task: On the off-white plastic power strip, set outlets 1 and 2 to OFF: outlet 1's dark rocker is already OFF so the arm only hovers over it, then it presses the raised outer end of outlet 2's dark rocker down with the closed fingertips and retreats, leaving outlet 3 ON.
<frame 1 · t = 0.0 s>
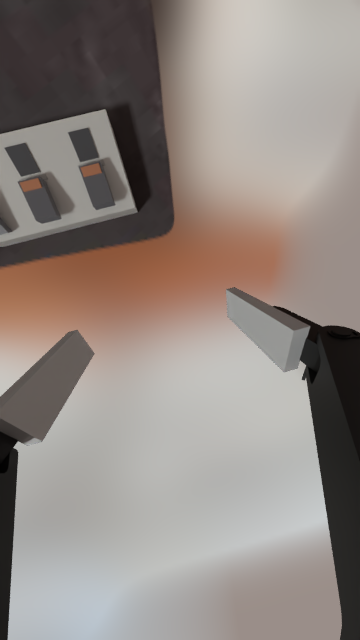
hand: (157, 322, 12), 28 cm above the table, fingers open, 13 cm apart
rocker 2: (40, 201, 23), point 6 cm above the table, hinge at -14.0°
power strip: (53, 193, 27), on the table
rocker 3: (97, 186, 23), point 6 cm above the table, hinge at -14.0°
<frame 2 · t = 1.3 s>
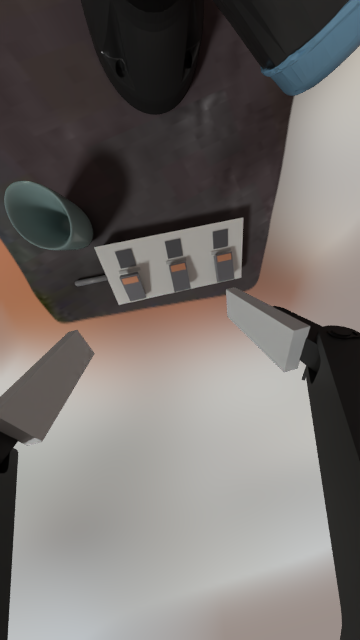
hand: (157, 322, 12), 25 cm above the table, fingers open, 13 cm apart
rocker 1: (134, 287, 29), point 6 cm above the table, hinge at 14.0°
rocker 2: (179, 277, 29), point 6 cm above the table, hinge at -14.0°
power strip: (174, 262, 33), on the table
cup: (78, 228, 27), on the table
rocker 3: (224, 267, 30), point 6 cm above the table, hinge at -14.0°
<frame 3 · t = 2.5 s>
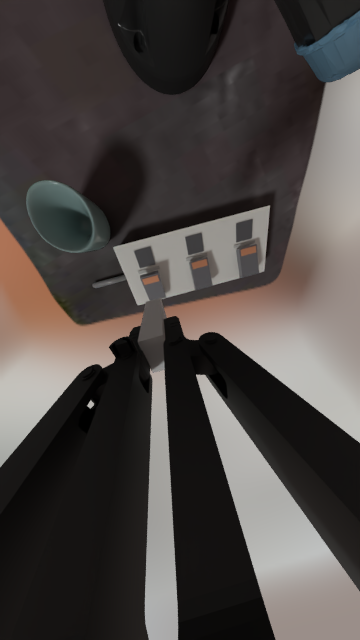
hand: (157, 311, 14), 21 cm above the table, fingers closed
rocker 1: (153, 287, 28), point 6 cm above the table, hinge at 14.0°
rocker 2: (200, 274, 28), point 6 cm above the table, hinge at -14.0°
power strip: (192, 258, 31), on the table
cup: (94, 228, 26), on the table
rocker 3: (247, 261, 28), point 6 cm above the table, hinge at -14.0°
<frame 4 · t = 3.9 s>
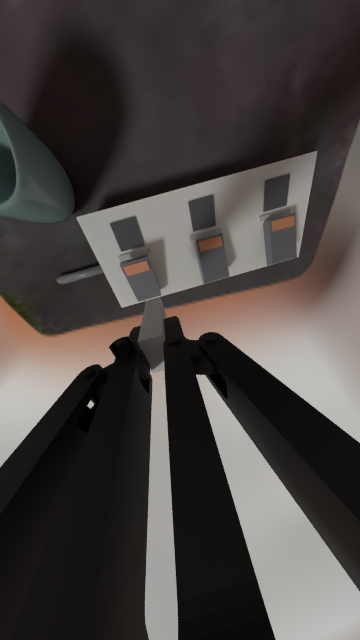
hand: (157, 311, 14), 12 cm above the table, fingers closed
rocker 1: (142, 280, 19), point 6 cm above the table, hinge at 14.0°
rocker 2: (212, 259, 19), point 6 cm above the table, hinge at -14.0°
power strip: (198, 241, 22), on the table
cup: (51, 192, 18), on the table
rocker 3: (280, 240, 19), point 6 cm above the table, hinge at -14.0°
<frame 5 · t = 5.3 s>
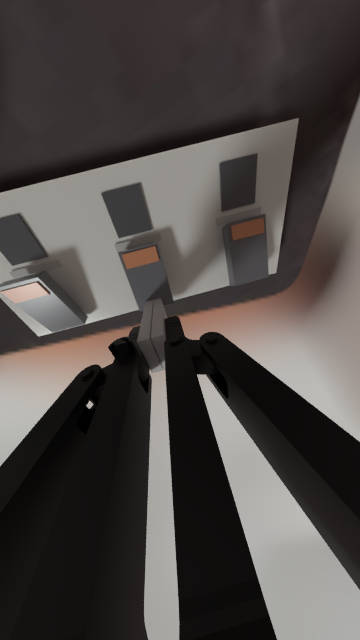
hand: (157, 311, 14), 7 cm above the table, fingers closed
rocker 1: (49, 305, 13), point 6 cm above the table, hinge at 14.0°
rocker 2: (148, 279, 13), point 6 cm above the table, hinge at -9.3°, touching gripper
power strip: (144, 248, 17), on the table
rocker 3: (246, 253, 13), point 6 cm above the table, hinge at -14.0°
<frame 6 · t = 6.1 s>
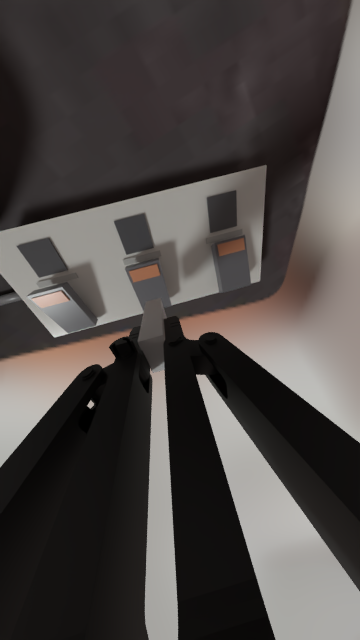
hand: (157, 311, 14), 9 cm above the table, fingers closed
rocker 1: (67, 310, 16), point 6 cm above the table, hinge at 14.0°
rocker 2: (150, 287, 16), point 6 cm above the table, hinge at 8.4°
power strip: (146, 261, 20), on the table
rocker 3: (231, 265, 16), point 6 cm above the table, hinge at -14.0°
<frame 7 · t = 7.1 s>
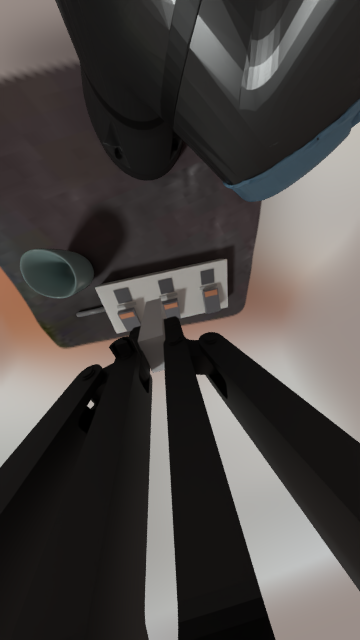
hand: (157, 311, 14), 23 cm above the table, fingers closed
rocker 1: (130, 320, 32), point 6 cm above the table, hinge at 14.0°
rocker 2: (171, 310, 32), point 6 cm above the table, hinge at 18.6°
power strip: (167, 294, 36), on the table
cup: (80, 269, 31), on the table
rocker 3: (211, 300, 33), point 6 cm above the table, hinge at -14.0°
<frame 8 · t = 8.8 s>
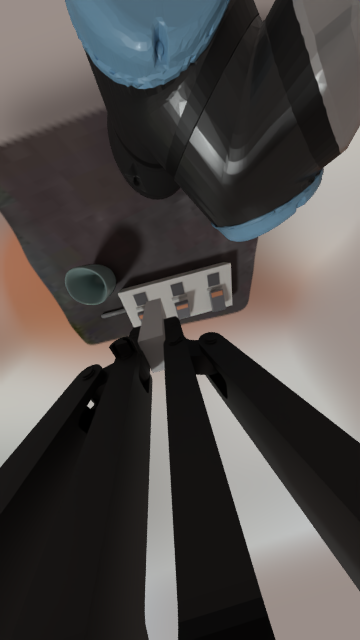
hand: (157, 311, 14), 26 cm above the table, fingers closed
rocker 1: (147, 319, 37), point 6 cm above the table, hinge at 14.0°
rocker 2: (182, 310, 37), point 6 cm above the table, hinge at 21.1°
power strip: (178, 295, 41), on the table
cup: (104, 277, 36), on the table
rocker 3: (217, 300, 37), point 6 cm above the table, hinge at -14.0°
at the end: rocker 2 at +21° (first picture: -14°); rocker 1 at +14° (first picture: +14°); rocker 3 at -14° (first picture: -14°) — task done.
